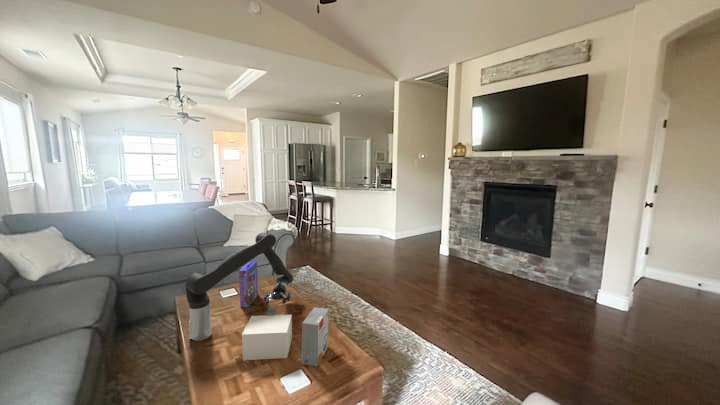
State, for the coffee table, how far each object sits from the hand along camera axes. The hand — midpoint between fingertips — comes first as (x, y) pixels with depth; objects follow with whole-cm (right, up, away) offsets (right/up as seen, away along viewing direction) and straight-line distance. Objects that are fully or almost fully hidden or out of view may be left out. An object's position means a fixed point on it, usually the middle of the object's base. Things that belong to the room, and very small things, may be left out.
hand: (275, 302), depth 156 cm
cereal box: (-26, -10, +32) cm, 43 cm away
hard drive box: (+25, -18, -20) cm, 37 cm away
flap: (+2, -4, -16) cm, 16 cm away
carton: (+2, -17, -16) cm, 23 cm away
